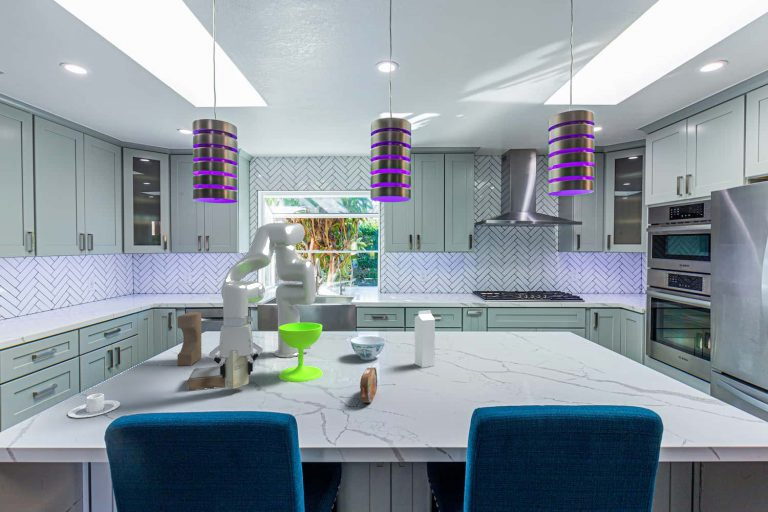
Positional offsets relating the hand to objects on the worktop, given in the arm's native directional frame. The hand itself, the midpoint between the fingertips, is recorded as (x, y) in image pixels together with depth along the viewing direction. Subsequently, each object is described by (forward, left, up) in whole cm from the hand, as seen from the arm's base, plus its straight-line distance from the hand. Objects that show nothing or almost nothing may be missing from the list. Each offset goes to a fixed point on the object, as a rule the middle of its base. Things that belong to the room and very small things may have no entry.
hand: (236, 374), depth 124 cm
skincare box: (0, 0, -4) cm, 4 cm away
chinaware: (-52, -24, -6) cm, 58 cm away
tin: (-40, +19, -6) cm, 44 cm away
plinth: (+9, -11, -5) cm, 16 cm away
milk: (-71, -7, -6) cm, 71 cm away
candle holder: (+38, +3, -6) cm, 39 cm away
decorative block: (+20, -41, -6) cm, 46 cm away
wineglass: (-22, -10, -6) cm, 25 cm away
